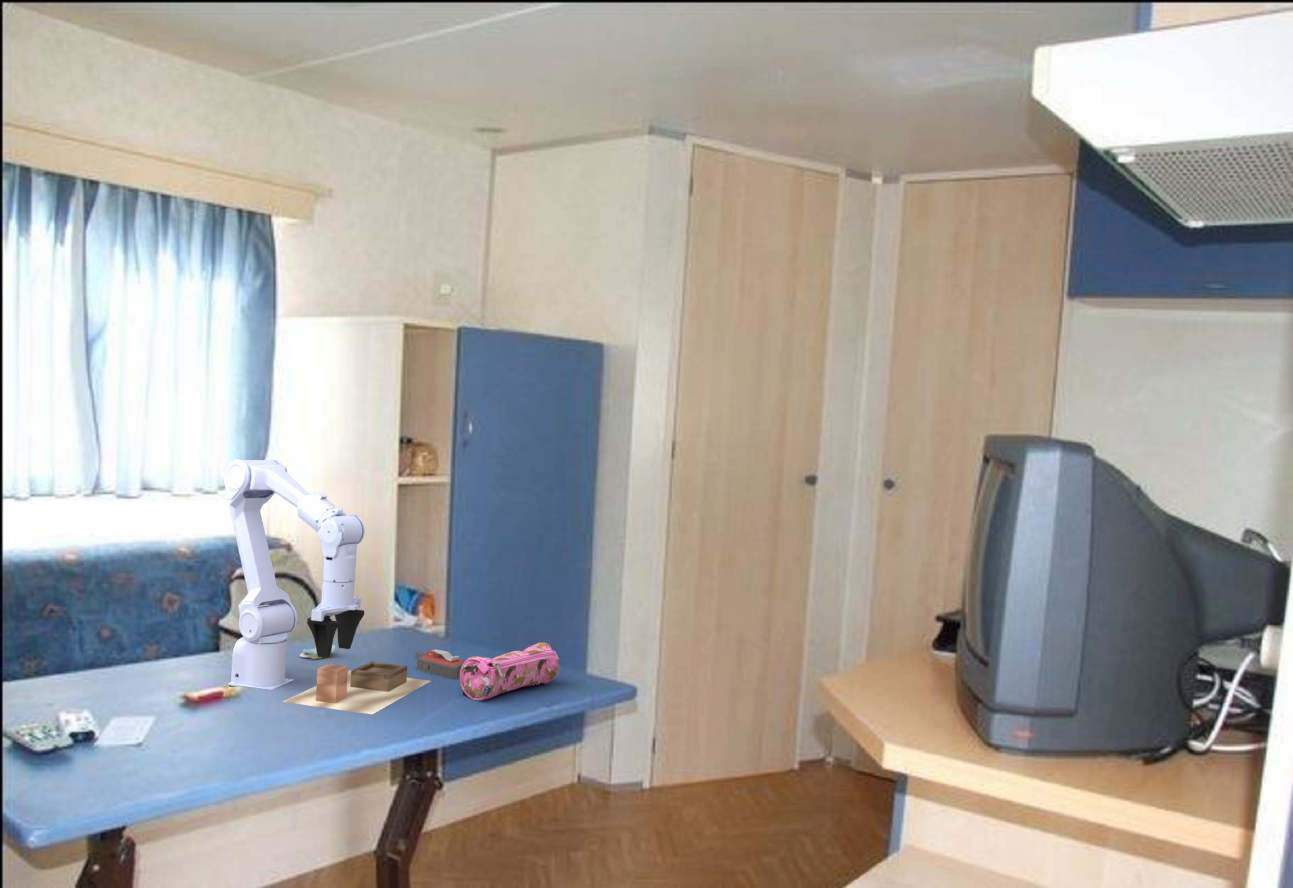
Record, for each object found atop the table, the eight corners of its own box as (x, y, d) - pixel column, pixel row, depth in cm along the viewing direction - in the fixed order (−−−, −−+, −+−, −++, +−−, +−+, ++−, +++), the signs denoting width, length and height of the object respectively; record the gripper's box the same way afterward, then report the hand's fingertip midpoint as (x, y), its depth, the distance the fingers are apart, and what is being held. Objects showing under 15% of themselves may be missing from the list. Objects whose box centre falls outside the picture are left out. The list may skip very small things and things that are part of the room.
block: (315, 700, 188) (317, 668, 188) (326, 695, 192) (328, 663, 192) (335, 703, 188) (337, 671, 187) (346, 697, 191) (348, 666, 191)
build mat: (282, 704, 187) (283, 684, 186) (350, 672, 211) (351, 654, 211) (372, 717, 183) (373, 696, 183) (431, 683, 207) (432, 665, 207)
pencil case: (487, 707, 194) (490, 661, 194) (454, 696, 200) (457, 651, 200) (562, 687, 211) (565, 645, 211) (529, 678, 217) (532, 637, 217)
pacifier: (293, 657, 221) (311, 662, 218) (294, 629, 221) (313, 632, 218) (319, 652, 227) (338, 656, 224) (320, 624, 227) (339, 628, 224)
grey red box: (486, 675, 218) (419, 658, 229) (487, 654, 218) (420, 638, 229) (457, 682, 211) (389, 664, 221) (459, 661, 210) (390, 644, 221)
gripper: (338, 588, 181) (333, 663, 182) (376, 576, 196) (372, 646, 196) (302, 584, 183) (298, 659, 183) (343, 572, 197) (339, 642, 197)
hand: (334, 652), depth 190 cm, fingers open, 7 cm apart
